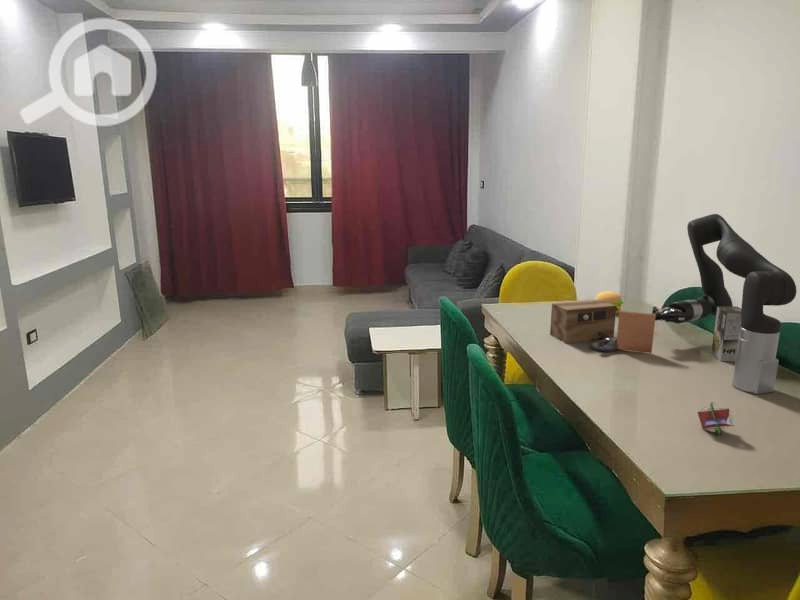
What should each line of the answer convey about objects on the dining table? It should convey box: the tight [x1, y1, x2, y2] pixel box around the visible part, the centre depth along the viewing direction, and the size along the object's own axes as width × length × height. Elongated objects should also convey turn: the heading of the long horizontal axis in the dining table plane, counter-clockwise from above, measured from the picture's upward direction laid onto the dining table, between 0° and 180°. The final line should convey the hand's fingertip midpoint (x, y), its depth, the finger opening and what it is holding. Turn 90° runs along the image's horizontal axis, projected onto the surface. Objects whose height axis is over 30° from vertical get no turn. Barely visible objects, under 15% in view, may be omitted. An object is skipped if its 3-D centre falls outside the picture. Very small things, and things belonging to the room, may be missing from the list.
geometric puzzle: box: [697, 401, 735, 437], centre depth 131 cm, size 7×7×8 cm
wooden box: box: [549, 299, 616, 344], centre depth 201 cm, size 12×20×12 cm, turn 106°
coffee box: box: [711, 306, 741, 363], centre depth 179 cm, size 9×6×16 cm
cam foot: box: [589, 310, 656, 354], centre depth 187 cm, size 20×14×13 cm
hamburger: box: [593, 290, 624, 314], centre depth 236 cm, size 12×12×9 cm
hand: (650, 317), depth 187 cm, fingers closed
